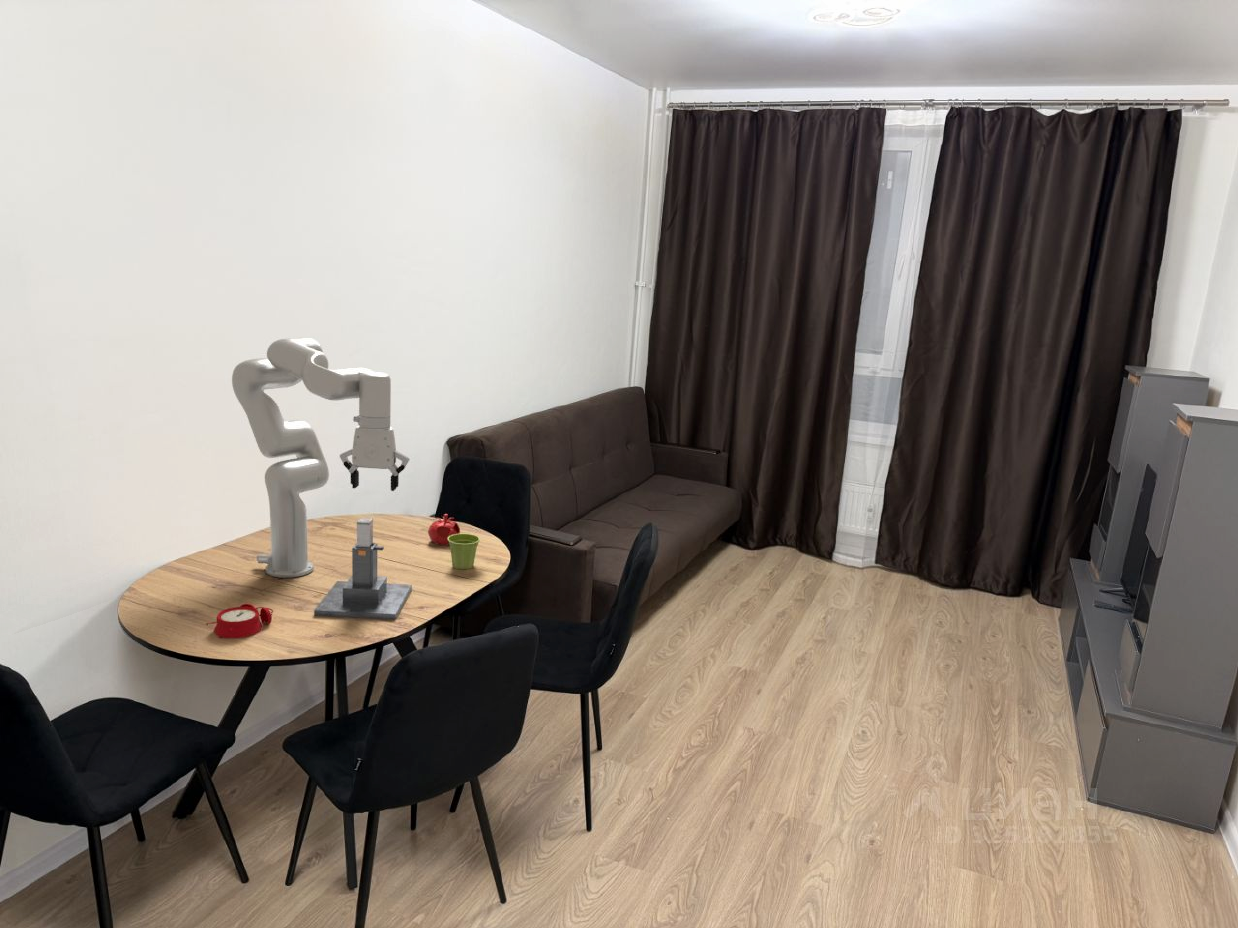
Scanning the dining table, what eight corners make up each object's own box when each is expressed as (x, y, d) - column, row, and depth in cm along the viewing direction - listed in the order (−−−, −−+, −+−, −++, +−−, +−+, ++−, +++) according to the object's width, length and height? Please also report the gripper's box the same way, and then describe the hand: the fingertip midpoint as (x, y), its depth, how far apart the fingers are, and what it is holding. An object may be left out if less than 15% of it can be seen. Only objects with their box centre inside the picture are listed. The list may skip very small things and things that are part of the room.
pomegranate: (422, 541, 274) (422, 513, 271) (450, 535, 280) (449, 508, 278) (438, 549, 266) (438, 520, 264) (466, 543, 273) (466, 515, 271)
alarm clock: (199, 620, 198) (247, 586, 211) (205, 642, 201) (253, 608, 213) (233, 630, 195) (280, 595, 207) (239, 652, 197) (285, 616, 210)
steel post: (356, 583, 220) (356, 522, 216) (360, 579, 223) (359, 518, 220) (370, 584, 220) (369, 522, 216) (373, 579, 224) (373, 518, 220)
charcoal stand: (314, 615, 213) (313, 556, 209) (337, 586, 232) (336, 531, 229) (395, 619, 214) (395, 560, 210) (411, 589, 233) (412, 535, 230)
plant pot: (485, 565, 256) (486, 537, 254) (467, 574, 247) (467, 545, 245) (459, 558, 259) (459, 531, 257) (440, 567, 251) (440, 539, 249)
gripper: (335, 422, 211) (335, 490, 215) (405, 427, 211) (405, 494, 215) (344, 417, 218) (345, 482, 222) (413, 422, 218) (412, 486, 222)
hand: (374, 488), depth 218 cm, fingers open, 9 cm apart
